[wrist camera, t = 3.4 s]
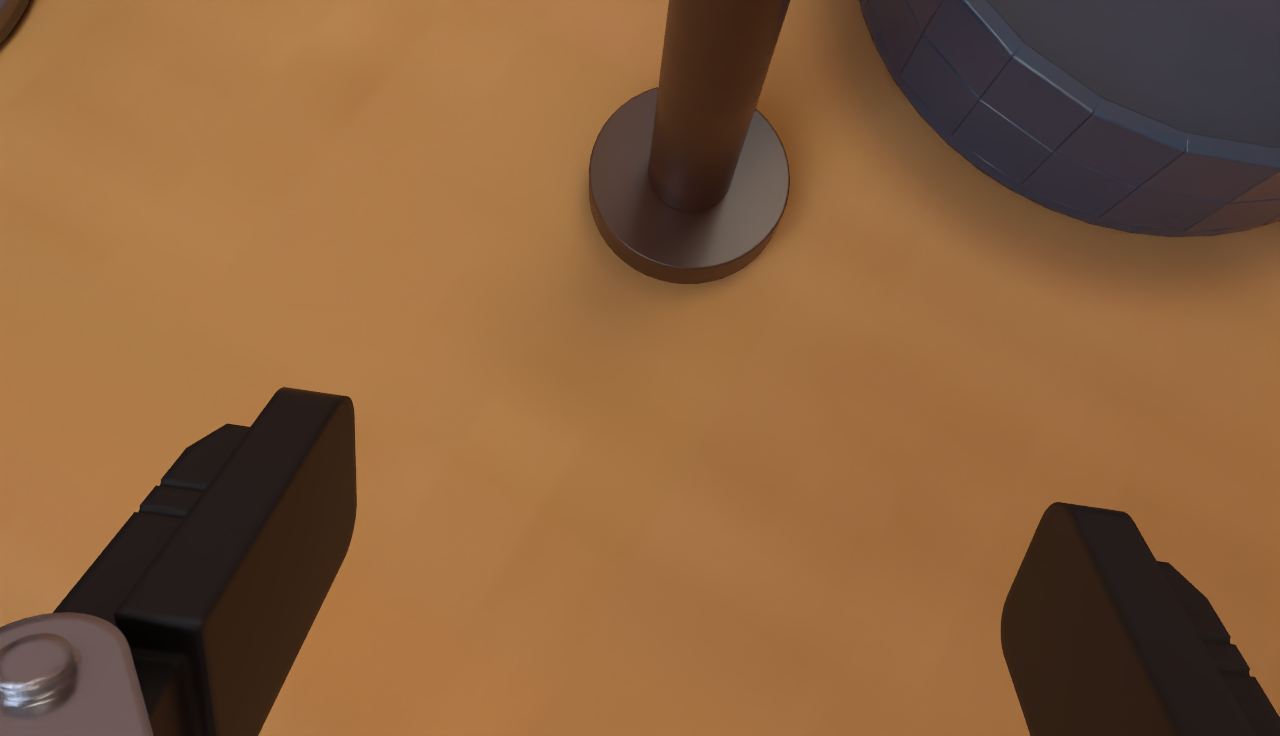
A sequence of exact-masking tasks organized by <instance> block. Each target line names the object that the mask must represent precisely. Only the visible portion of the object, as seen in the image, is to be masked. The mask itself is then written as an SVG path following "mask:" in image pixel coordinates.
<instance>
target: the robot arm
mask: <svg viewBox="0 0 1280 736" xmlns="http://www.w3.org/2000/svg"><path fill="white" fill-rule="evenodd" d="M28 2H29V0H0V43H1V42H2V41H3V40H4V39H5V38H6V37H7V35H8V34H9V33H10V32H11V30H12V29H13V28H14V26H15V25H16V23H17V22H18V20H19V19H20V17H21V16H22V14H23V12H24V10H25V8H26V6H27V4H28ZM356 507H357V494H356V456H355V417H354V407H353V403H352V400H351V398H350V397H348V396H341V395H334V394H327V393H320V392H314V391H307V390H300V389H293V388H286V387H283V388H281V389H279V390H278V391H277V392H276V393H275V394H274V396H273V397H272V398H271V400H270V401H269V403H268V404H267V405H266V407H265V408H264V409H263V411H262V412H261V413H260V415H259V416H258V417H257V419H256V420H255V422H254V423H253V424H252V426H251V427H246V426H239V425H233V424H226V425H224V426H222V427H221V428H219V429H217V430H216V431H214V432H212V433H211V434H209V435H207V436H206V437H204V438H202V439H201V440H199V441H197V442H196V443H194V444H192V445H191V446H189V447H187V448H186V449H185V450H184V452H183V453H182V454H181V455H180V457H179V458H178V459H177V460H176V462H175V463H174V464H173V465H172V466H171V468H170V469H169V470H168V471H167V473H166V474H165V475H164V476H163V478H162V479H161V484H160V486H155V487H154V489H153V490H152V491H151V492H150V494H149V495H148V496H147V497H146V499H145V500H144V501H143V502H142V503H141V505H140V510H139V512H138V513H137V512H134V513H133V515H132V516H131V517H130V518H129V520H128V521H127V522H126V523H125V524H124V526H123V527H122V528H121V529H120V531H119V532H118V533H117V534H116V536H115V537H114V538H113V539H112V540H111V542H110V543H109V544H108V545H107V547H106V548H105V549H104V550H103V552H102V553H101V554H100V555H99V557H98V558H97V559H96V560H95V561H94V563H93V564H92V565H91V566H90V568H89V569H88V570H87V571H86V573H85V574H84V575H83V576H82V577H81V579H80V580H79V581H78V582H77V584H76V585H75V586H74V587H73V589H72V590H71V591H70V592H69V593H68V595H67V596H66V597H65V598H64V600H63V601H62V602H61V603H60V605H59V606H58V607H57V608H56V610H55V611H54V612H53V613H50V614H42V615H38V616H33V617H29V618H25V619H22V620H19V621H16V622H13V623H10V624H7V625H5V626H3V627H1V628H0V736H258V735H259V733H260V731H261V729H262V726H263V724H264V722H265V720H266V718H267V716H268V714H269V712H270V710H271V708H272V706H273V704H274V702H275V700H276V698H277V696H278V694H279V692H280V690H281V687H282V685H283V683H284V681H285V679H286V677H287V675H288V673H289V671H290V669H291V667H292V665H293V663H294V661H295V659H296V657H297V655H298V653H299V651H300V649H301V646H302V644H303V642H304V640H305V638H306V636H307V634H308V632H309V630H310V628H311V626H312V624H313V622H314V620H315V618H316V616H317V614H318V612H319V610H320V607H321V605H322V603H323V601H324V599H325V597H326V595H327V593H328V591H329V589H330V587H331V585H332V583H333V581H334V579H335V577H336V575H337V573H338V571H339V568H340V566H341V564H342V562H343V560H344V558H345V556H346V554H347V551H348V548H349V545H350V542H351V538H352V534H353V529H354V524H355V518H356ZM1001 643H1002V649H1003V654H1004V657H1005V660H1006V663H1007V666H1008V669H1009V672H1010V675H1011V678H1012V681H1013V684H1014V687H1015V690H1016V693H1017V696H1018V699H1019V702H1020V705H1021V708H1022V711H1023V714H1024V717H1025V720H1026V723H1027V726H1028V729H1029V732H1030V735H1031V736H1280V717H1279V716H1278V714H1277V712H1276V711H1275V709H1274V707H1273V706H1272V704H1271V703H1270V701H1269V699H1268V698H1267V696H1266V694H1265V693H1264V691H1263V689H1262V688H1261V686H1260V684H1259V683H1258V681H1257V680H1256V678H1255V677H1250V675H1249V670H1250V668H1249V666H1248V665H1247V663H1246V661H1245V660H1244V658H1243V657H1242V655H1241V653H1240V652H1239V650H1238V648H1237V647H1236V645H1234V644H1230V635H1229V634H1228V632H1227V630H1226V629H1225V627H1224V625H1223V624H1222V622H1221V620H1220V619H1219V617H1218V615H1217V614H1216V612H1215V611H1214V609H1213V607H1212V606H1211V604H1210V602H1209V601H1208V599H1207V598H1206V597H1205V596H1204V595H1203V594H1202V593H1201V592H1200V591H1198V590H1197V589H1196V588H1195V587H1194V586H1193V585H1192V584H1191V583H1190V582H1189V581H1188V580H1187V579H1186V578H1184V577H1183V576H1182V575H1181V574H1180V573H1179V572H1178V571H1177V570H1176V569H1175V568H1174V567H1173V566H1172V565H1170V564H1169V563H1166V562H1159V561H1156V559H1155V558H1154V556H1153V554H1152V552H1151V551H1150V549H1149V547H1148V545H1147V544H1146V542H1145V540H1144V538H1143V537H1142V535H1141V533H1140V531H1139V530H1138V528H1137V526H1136V524H1135V523H1134V521H1133V520H1132V518H1131V517H1130V516H1129V515H1128V514H1127V513H1125V512H1123V511H1116V510H1109V509H1102V508H1095V507H1088V506H1081V505H1075V504H1068V503H1061V502H1056V503H1053V504H1052V505H1050V506H1049V507H1048V508H1047V510H1046V511H1045V512H1044V514H1043V516H1042V518H1041V520H1040V523H1039V525H1038V527H1037V529H1036V532H1035V534H1034V536H1033V539H1032V541H1031V543H1030V545H1029V548H1028V550H1027V552H1026V554H1025V557H1024V559H1023V561H1022V564H1021V566H1020V568H1019V570H1018V573H1017V575H1016V577H1015V579H1014V582H1013V584H1012V586H1011V589H1010V591H1009V593H1008V595H1007V598H1006V601H1005V604H1004V607H1003V612H1002V619H1001Z"/></svg>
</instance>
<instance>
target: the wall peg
mask: <svg viewBox="0 0 1280 736" xmlns="http://www.w3.org/2000/svg"><path fill="white" fill-rule="evenodd" d="M789 3H790V0H669V6H668V14H667V22H666V30H665V38H664V46H663V54H662V62H661V70H660V78H659V87H657V88H654V89H651V90H648V91H646V92H643V93H641V94H639V95H638V96H636V97H634V98H632V99H631V100H629V101H628V102H626V103H625V104H624V105H622V106H621V107H620V108H619V109H618V110H617V111H616V112H615V113H614V114H613V115H612V116H611V117H610V118H609V119H608V121H607V122H606V123H605V124H604V126H603V128H602V129H601V131H600V133H599V135H598V137H597V139H596V142H595V144H594V146H593V150H592V154H591V158H590V167H589V193H590V204H591V210H592V214H593V217H594V220H595V223H596V225H597V227H598V230H599V232H600V234H601V235H602V237H603V238H604V240H605V241H606V243H607V244H608V246H609V247H610V248H611V249H612V250H613V251H614V253H615V254H616V255H618V256H619V257H620V258H621V259H622V260H623V261H624V262H625V263H627V264H628V265H630V266H631V267H633V268H634V269H636V270H638V271H640V272H642V273H644V274H645V275H648V276H650V277H653V278H656V279H659V280H663V281H667V282H671V283H681V284H698V283H704V282H711V281H714V280H718V279H721V278H724V277H726V276H729V275H731V274H733V273H735V272H737V271H738V270H740V269H742V268H743V267H745V266H746V265H747V264H749V263H750V262H751V261H752V260H754V259H755V258H756V257H757V256H758V255H759V253H760V252H761V251H762V250H763V249H764V248H765V246H766V245H767V243H768V242H769V240H770V239H771V237H772V235H773V233H774V231H775V229H776V227H777V225H778V223H779V221H780V219H781V216H782V214H783V212H784V209H785V206H786V203H787V199H788V194H789V184H790V175H789V165H788V161H787V156H786V153H785V150H784V148H783V145H782V143H781V141H780V139H779V137H778V135H777V133H776V131H775V130H774V129H773V127H772V126H771V124H770V123H769V122H768V121H767V119H766V118H765V117H764V116H763V115H762V114H761V113H760V112H759V111H758V110H756V109H755V108H756V105H757V102H758V99H759V96H760V93H761V89H762V86H763V83H764V80H765V77H766V74H767V71H768V68H769V65H770V62H771V59H772V56H773V52H774V49H775V46H776V43H777V40H778V37H779V34H780V31H781V28H782V25H783V22H784V19H785V15H786V12H787V9H788V6H789Z"/></svg>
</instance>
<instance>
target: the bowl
mask: <svg viewBox="0 0 1280 736" xmlns="http://www.w3.org/2000/svg"><path fill="white" fill-rule="evenodd" d="M860 4H861V8H862V12H863V16H864V19H865V21H866V24H867V26H868V29H869V31H870V34H871V36H872V38H873V41H874V43H875V46H876V48H877V51H878V52H879V54H880V56H881V58H882V59H883V61H884V63H885V65H886V66H887V68H888V70H889V72H890V74H891V75H892V77H893V79H894V81H895V82H896V84H897V85H898V86H899V88H900V89H901V90H902V92H903V93H904V94H905V96H906V97H907V98H908V100H909V101H910V103H911V104H912V105H913V107H914V108H915V109H916V111H917V112H918V113H919V114H920V115H921V117H922V118H923V119H924V120H925V121H926V122H927V123H928V124H929V125H930V126H931V127H932V128H933V129H934V130H935V131H936V132H937V133H938V134H939V135H940V136H941V137H942V138H943V139H944V141H945V142H946V143H948V144H949V145H950V146H951V147H952V148H954V149H955V150H956V151H957V152H958V153H960V154H961V155H962V156H963V157H965V158H966V159H967V160H968V161H969V162H971V163H972V164H973V165H974V166H975V167H977V168H978V169H979V170H981V171H982V172H984V173H986V174H987V175H989V176H990V177H992V178H993V179H995V180H996V181H998V182H1000V183H1001V184H1003V185H1004V186H1006V187H1007V188H1009V189H1010V190H1012V191H1014V192H1016V193H1018V194H1020V195H1022V196H1024V197H1026V198H1028V199H1030V200H1032V201H1034V202H1036V203H1038V204H1040V205H1042V206H1044V207H1046V208H1048V209H1050V210H1053V211H1056V212H1059V213H1061V214H1064V215H1067V216H1070V217H1073V218H1075V219H1078V220H1081V221H1084V222H1087V223H1090V224H1094V225H1098V226H1103V227H1107V228H1112V229H1116V230H1120V231H1125V232H1129V233H1138V234H1148V235H1157V236H1167V237H1186V236H1214V235H1220V234H1227V233H1233V232H1240V231H1247V230H1251V229H1254V228H1258V227H1261V226H1265V225H1268V224H1271V223H1275V222H1278V221H1280V0H860Z"/></svg>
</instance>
